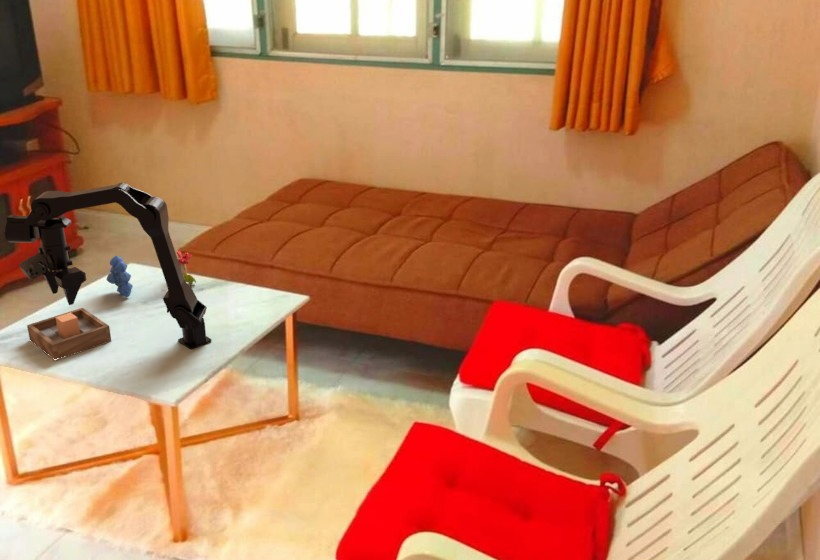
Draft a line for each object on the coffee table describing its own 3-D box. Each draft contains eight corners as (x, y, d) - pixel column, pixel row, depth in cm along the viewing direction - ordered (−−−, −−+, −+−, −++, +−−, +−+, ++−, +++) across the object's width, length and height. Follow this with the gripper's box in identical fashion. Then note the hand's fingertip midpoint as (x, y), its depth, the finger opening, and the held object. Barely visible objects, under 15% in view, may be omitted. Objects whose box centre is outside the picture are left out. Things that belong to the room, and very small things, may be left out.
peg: (81, 341, 204) (77, 317, 201) (66, 346, 201) (62, 322, 198) (74, 335, 206) (70, 312, 203) (59, 340, 203) (55, 317, 201)
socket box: (111, 340, 204) (109, 325, 202) (55, 360, 194) (52, 345, 192) (84, 322, 213) (82, 307, 211) (29, 340, 203) (26, 325, 201)
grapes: (102, 291, 232) (96, 254, 227) (124, 285, 236) (119, 249, 231) (116, 305, 224) (110, 267, 219) (138, 299, 227) (134, 261, 223)
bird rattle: (170, 289, 239) (181, 287, 232) (160, 254, 238) (171, 251, 231) (189, 284, 243) (200, 282, 236) (179, 250, 242) (190, 247, 235)
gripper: (4, 240, 193) (15, 296, 199) (36, 261, 181) (47, 320, 187) (49, 229, 200) (58, 284, 206) (82, 249, 189) (91, 306, 195)
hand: (63, 298), depth 199 cm, fingers open, 9 cm apart
